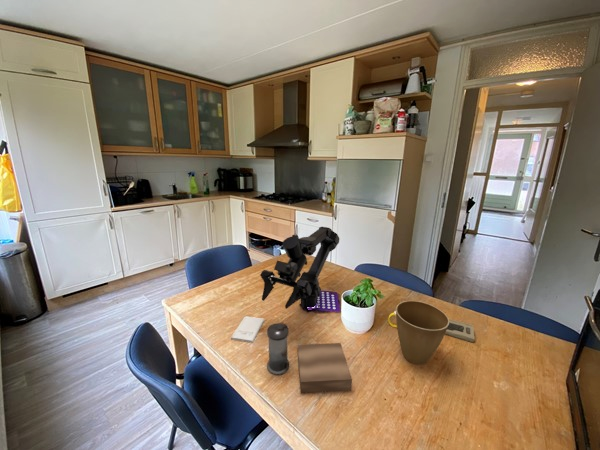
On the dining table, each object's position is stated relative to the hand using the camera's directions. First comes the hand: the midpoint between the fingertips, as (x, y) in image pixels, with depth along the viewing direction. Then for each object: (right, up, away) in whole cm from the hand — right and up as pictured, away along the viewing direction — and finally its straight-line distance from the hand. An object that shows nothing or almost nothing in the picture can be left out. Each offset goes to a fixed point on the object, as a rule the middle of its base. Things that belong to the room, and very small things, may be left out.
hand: (273, 303), depth 83 cm
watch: (+45, -13, +14) cm, 49 cm away
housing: (+2, -18, -5) cm, 18 cm away
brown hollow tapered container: (+46, -17, -1) cm, 49 cm away
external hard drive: (-11, -14, +11) cm, 21 cm away
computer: (+65, -14, +12) cm, 67 cm away
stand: (+15, -18, -7) cm, 25 cm away
